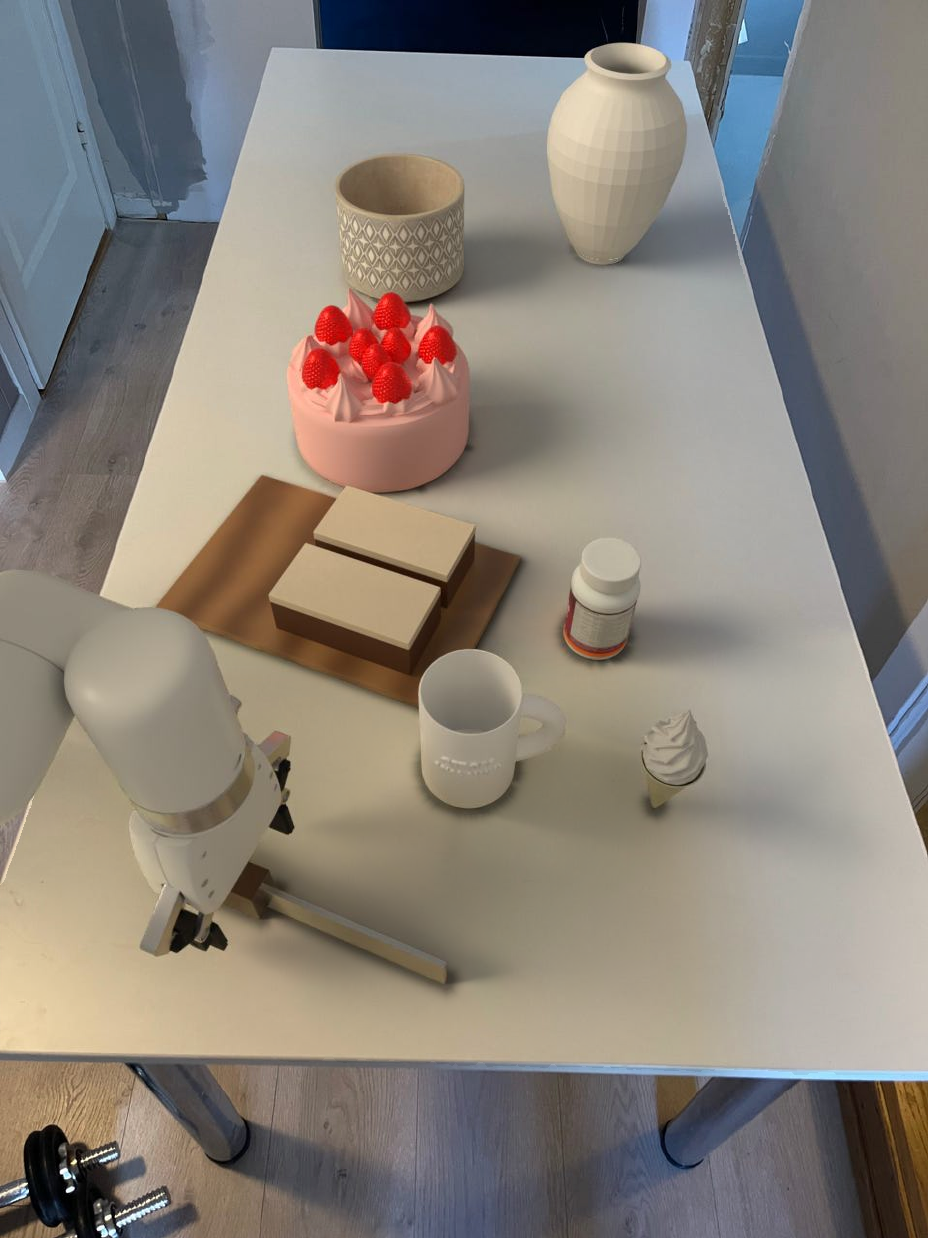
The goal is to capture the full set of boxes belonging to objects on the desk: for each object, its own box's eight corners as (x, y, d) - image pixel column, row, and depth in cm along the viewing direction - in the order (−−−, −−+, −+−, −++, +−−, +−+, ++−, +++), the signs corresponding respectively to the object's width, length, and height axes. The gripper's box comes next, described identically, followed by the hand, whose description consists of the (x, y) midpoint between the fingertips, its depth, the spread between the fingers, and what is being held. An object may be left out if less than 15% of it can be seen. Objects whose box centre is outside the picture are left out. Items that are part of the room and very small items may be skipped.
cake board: (158, 612, 88) (155, 606, 87) (263, 481, 100) (261, 474, 99) (441, 716, 81) (440, 710, 81) (519, 562, 93) (519, 555, 92)
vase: (682, 277, 125) (726, 81, 106) (560, 293, 123) (582, 95, 103) (636, 212, 136) (668, 23, 116) (523, 226, 133) (536, 35, 113)
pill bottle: (577, 602, 90) (591, 523, 81) (635, 625, 88) (657, 546, 79) (552, 647, 86) (564, 569, 77) (613, 672, 85) (632, 595, 76)
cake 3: (276, 628, 86) (267, 594, 82) (311, 576, 90) (305, 542, 86) (410, 676, 83) (408, 643, 79) (441, 620, 87) (440, 587, 83)
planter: (439, 320, 118) (438, 227, 108) (324, 295, 122) (313, 203, 112) (478, 255, 128) (481, 165, 118) (371, 234, 131) (364, 144, 121)
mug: (566, 805, 76) (583, 731, 67) (424, 815, 75) (421, 742, 66) (552, 721, 81) (566, 642, 72) (419, 730, 80) (415, 651, 71)
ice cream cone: (621, 777, 78) (652, 679, 66) (681, 779, 78) (722, 681, 66) (626, 832, 75) (659, 739, 63) (688, 834, 75) (732, 742, 63)
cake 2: (318, 566, 91) (313, 531, 87) (350, 519, 95) (346, 484, 91) (447, 609, 88) (447, 575, 84) (474, 559, 92) (475, 525, 88)
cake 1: (370, 362, 113) (361, 255, 102) (504, 424, 106) (510, 317, 95) (261, 447, 103) (238, 340, 92) (401, 523, 96) (394, 417, 85)
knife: (161, 876, 72) (148, 855, 69) (179, 847, 73) (167, 826, 70) (438, 999, 67) (438, 982, 63) (452, 965, 68) (452, 948, 65)
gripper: (213, 645, 61) (259, 769, 74) (47, 874, 51) (134, 969, 65) (312, 681, 59) (340, 801, 73) (159, 925, 49) (225, 1011, 63)
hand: (243, 880), depth 69 cm, fingers open, 9 cm apart
